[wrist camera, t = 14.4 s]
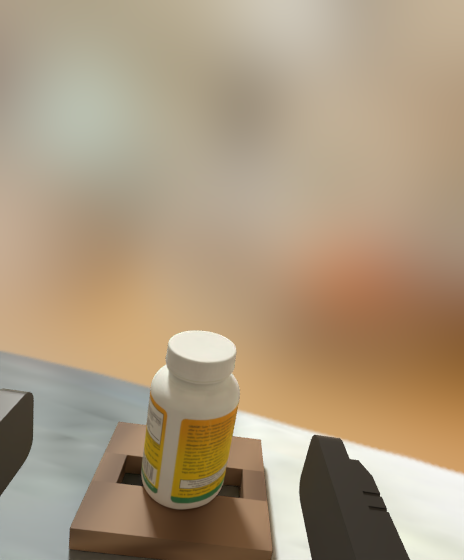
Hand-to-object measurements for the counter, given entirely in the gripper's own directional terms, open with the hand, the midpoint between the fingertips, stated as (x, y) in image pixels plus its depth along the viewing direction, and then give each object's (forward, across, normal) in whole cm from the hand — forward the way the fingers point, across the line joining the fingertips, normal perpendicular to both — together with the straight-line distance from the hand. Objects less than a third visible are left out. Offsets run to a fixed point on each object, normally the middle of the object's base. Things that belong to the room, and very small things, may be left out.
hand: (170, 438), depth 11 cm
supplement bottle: (+10, -1, +12) cm, 16 cm away
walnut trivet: (+11, 0, +14) cm, 17 cm away
